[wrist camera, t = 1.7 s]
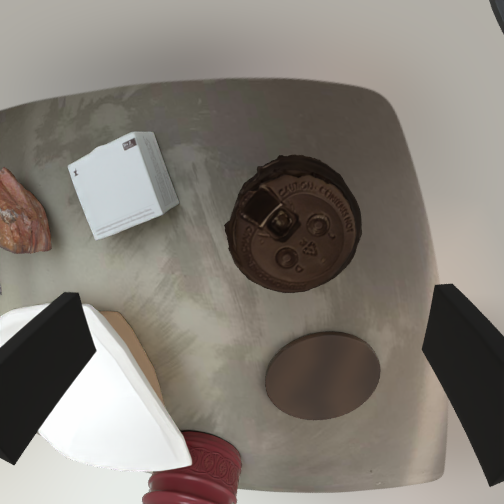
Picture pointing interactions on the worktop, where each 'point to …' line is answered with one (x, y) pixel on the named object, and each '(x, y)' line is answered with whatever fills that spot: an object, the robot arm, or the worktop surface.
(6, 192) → the stone
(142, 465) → the bowl
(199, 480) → the kitchen canister
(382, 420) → the worktop surface
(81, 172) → the small box
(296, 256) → the coffee cup
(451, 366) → the robot arm
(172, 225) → the worktop surface
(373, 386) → the coaster
